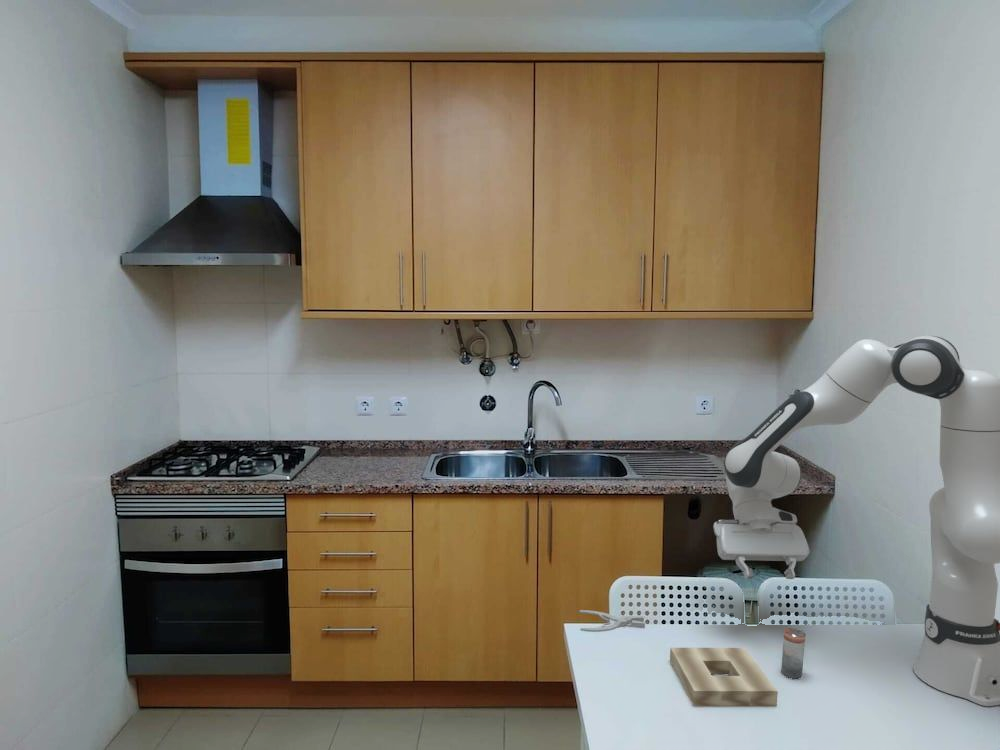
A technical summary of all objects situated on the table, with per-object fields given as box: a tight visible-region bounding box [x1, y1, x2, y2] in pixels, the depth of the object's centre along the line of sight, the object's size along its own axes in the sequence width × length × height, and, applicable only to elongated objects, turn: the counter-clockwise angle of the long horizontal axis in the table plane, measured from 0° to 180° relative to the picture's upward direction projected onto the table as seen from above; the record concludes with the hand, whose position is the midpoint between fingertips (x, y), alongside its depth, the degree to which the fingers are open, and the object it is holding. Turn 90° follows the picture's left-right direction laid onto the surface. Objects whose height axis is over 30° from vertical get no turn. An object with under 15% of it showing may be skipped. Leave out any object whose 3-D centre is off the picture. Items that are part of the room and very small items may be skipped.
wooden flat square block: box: [669, 647, 779, 707], centre depth 139 cm, size 16×16×3 cm
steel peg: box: [780, 627, 806, 680], centre depth 142 cm, size 4×4×9 cm
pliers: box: [579, 609, 646, 633], centre depth 163 cm, size 10×2×15 cm
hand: (770, 577), depth 153 cm, fingers open, 8 cm apart
